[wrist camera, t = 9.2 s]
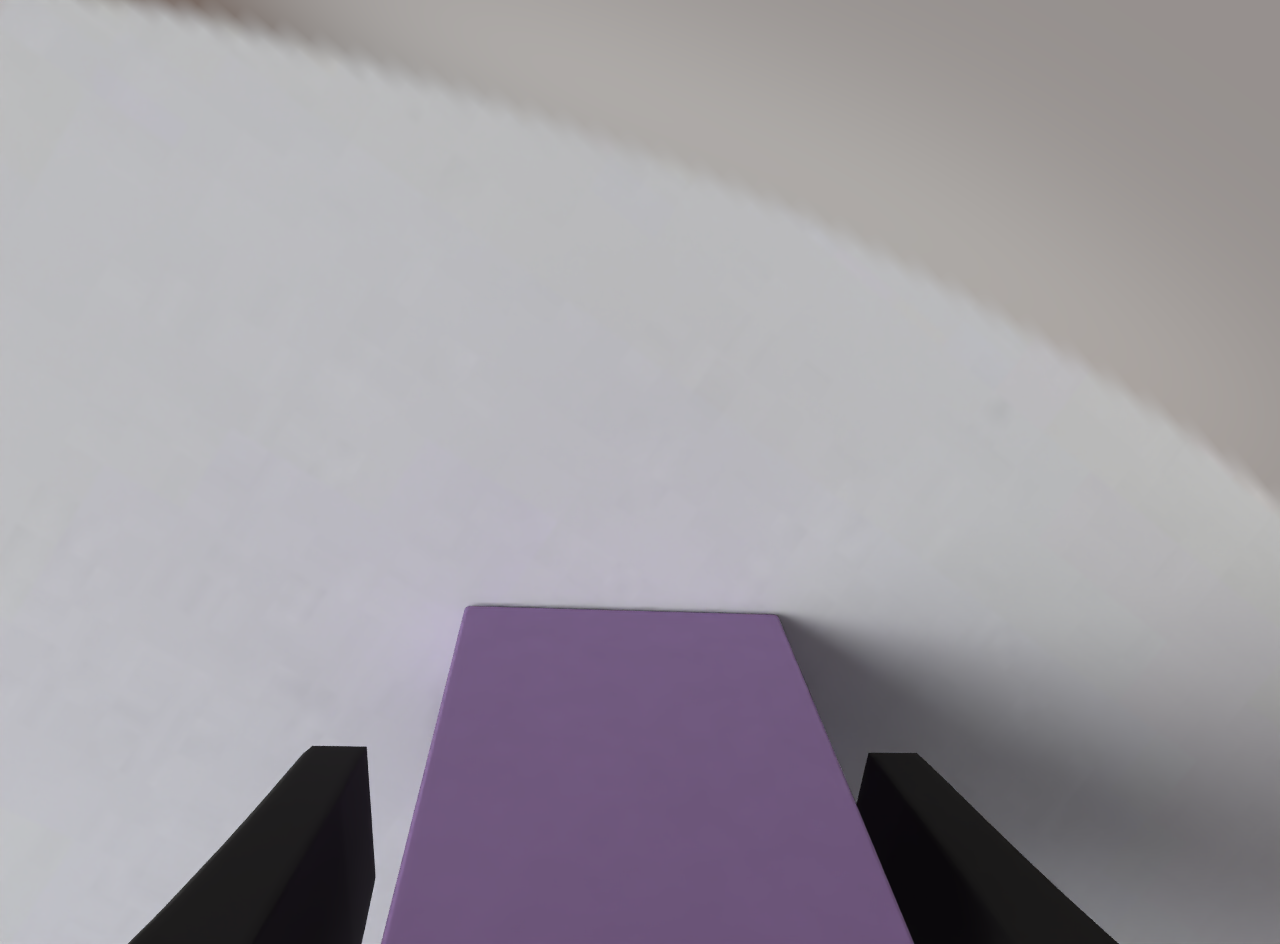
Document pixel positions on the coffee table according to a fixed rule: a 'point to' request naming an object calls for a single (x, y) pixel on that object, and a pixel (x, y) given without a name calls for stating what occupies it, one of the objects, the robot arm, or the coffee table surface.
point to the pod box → (634, 791)
